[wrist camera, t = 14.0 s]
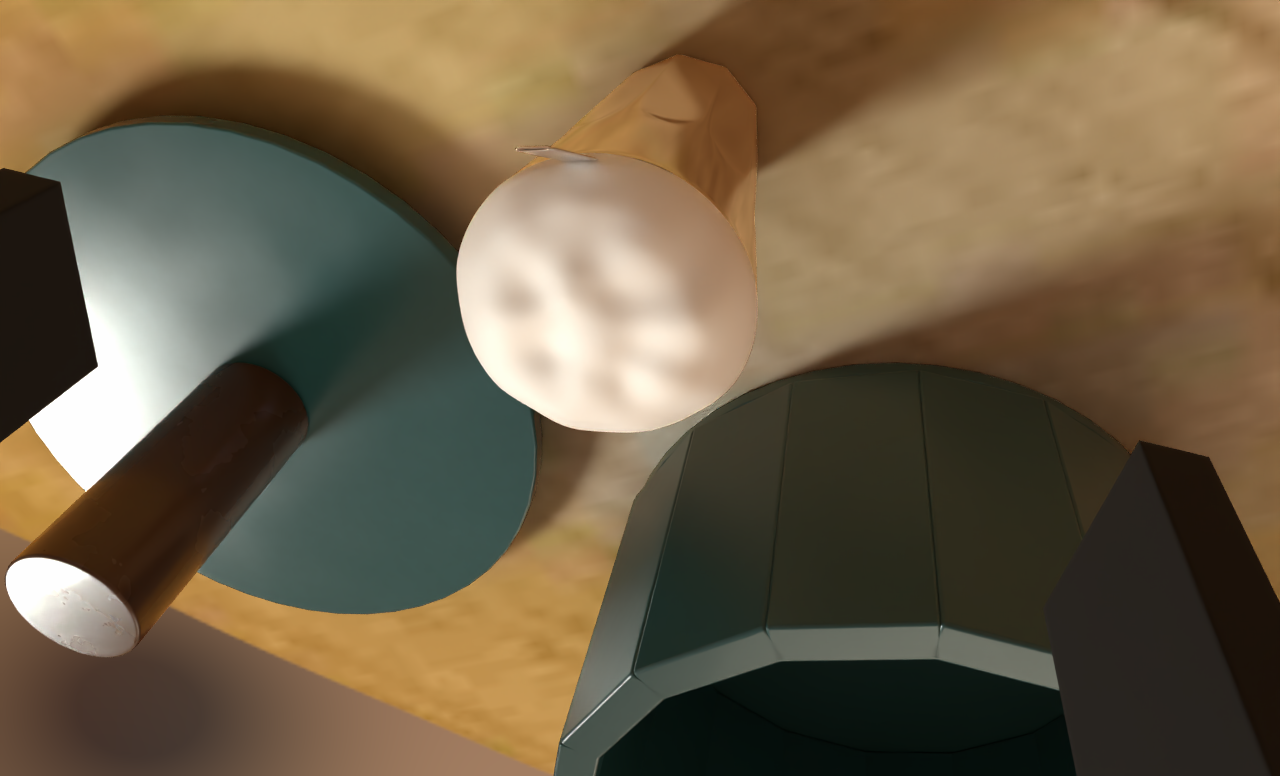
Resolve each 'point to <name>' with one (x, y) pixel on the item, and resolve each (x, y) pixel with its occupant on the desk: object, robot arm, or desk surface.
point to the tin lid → (263, 391)
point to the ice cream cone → (623, 256)
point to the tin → (845, 585)
